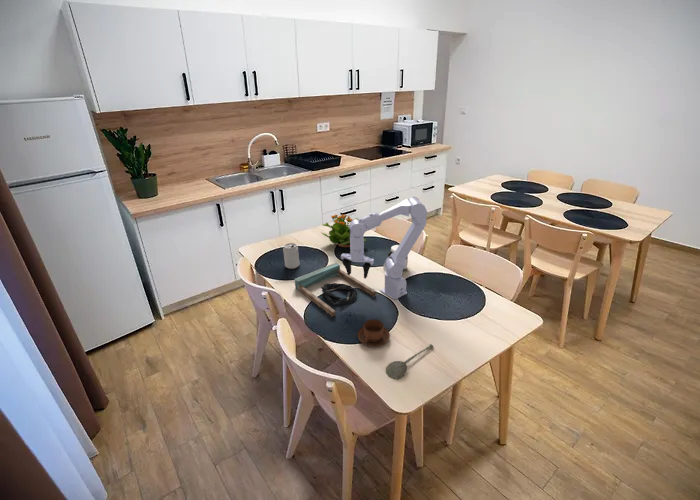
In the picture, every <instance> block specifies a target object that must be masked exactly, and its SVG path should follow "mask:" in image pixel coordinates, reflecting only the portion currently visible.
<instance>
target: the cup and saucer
mask: <svg viewBox="0 0 700 500" xmlns="http://www.w3.org/2000/svg"><path fill="white" fill-rule="evenodd" d="M390 336H391V335H390V331H389V329H387V328H386V327H385V326H384V323H383V322H382V321H381V320H379V319H368V320H366V321H365V322H364V323H363V326H362V327H360V328H359V330H358V331H357V338H358V341H359V342H360V343H361V344H363V345H365V346H366V347H367V346H369V347H372V348H373V347H381V346H383V345H385V344H386V343H387V342H388V341H389V339H390V338H391V337H390Z"/></svg>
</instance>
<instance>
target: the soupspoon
mask: <svg viewBox="0 0 700 500" xmlns="http://www.w3.org/2000/svg"><path fill="white" fill-rule="evenodd" d="M429 349H431V350H432V349H434V345H433V344H432V343H430V344H429V345H428V346H427V347H425V348H424V349H422V350H420V351H418V352H417V353H415V354H414V355H412V356H411V357H408V359H406V360H405V361H402V360H394V361H391V362H390V363H389V364H388V365H387V366H386V367H385V374H386V375H387V376H388V377H389V378H390V379H392V380H397V381H398V380H400V379H401V378H402V377H404V375H405V374H406V372H407V371H408V365H407V364H408V363H409V362H410V361H411V360H413V359H414V358H417V356H419V355H420V354H422V353H424V352H425V351H428V350H429Z"/></svg>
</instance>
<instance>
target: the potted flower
mask: <svg viewBox="0 0 700 500" xmlns="http://www.w3.org/2000/svg"><path fill="white" fill-rule="evenodd" d="M330 217H331V219H332V221H333V222H334V223H333V224H332V225H330V224H329V223H328V222H325V223H323V225H322V226H323V227H328V228H329V229H330V230H329V231H328V234H327V233H324V232H321V231H320V233H321V234H322V235H323V236H325V237H327V238H328V239H329V241H330V242H331V243H332V244H337V245H338V247H341V248H350V232H351V231H350V229H349V225H350V223H351V221H353V220H359V218H357V217H356V218H355V219H352V218H351V216H348V215H346V214H341V215H338V214H334V215H330ZM345 220H346V221H345ZM365 241H366V238H364V242H365Z"/></svg>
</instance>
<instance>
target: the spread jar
mask: <svg viewBox="0 0 700 500" xmlns="http://www.w3.org/2000/svg"><path fill="white" fill-rule="evenodd" d="M399 245H400V244H395V245H392V246H391V248H390V251H389V252H388V253H387V258H388V257H390V255H391V254H392V253H395V251H396V250H397V248H398V246H399ZM408 262H409V259H408V256H407V257H406V259H405V266H404V268H403V271H405V270H406V269H407V268H408ZM386 270H387V269H386V267H385V264H384V263H383V272H384V273H385V272H386Z"/></svg>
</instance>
